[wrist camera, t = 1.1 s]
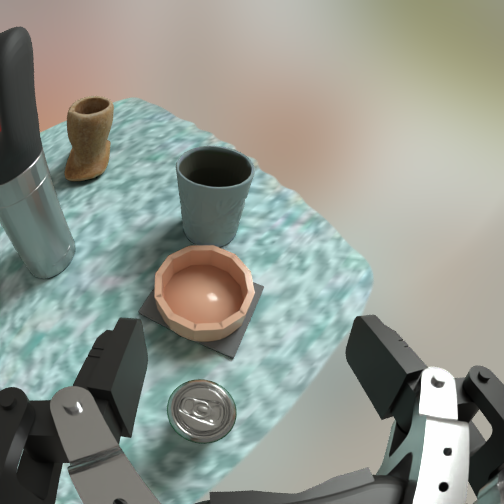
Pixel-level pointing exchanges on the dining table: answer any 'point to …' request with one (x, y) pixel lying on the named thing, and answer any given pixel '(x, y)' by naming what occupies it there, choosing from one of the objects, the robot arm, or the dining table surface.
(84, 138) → the tan boot
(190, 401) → the soda can
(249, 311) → the mat
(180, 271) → the bowl
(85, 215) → the dining table surface
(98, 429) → the robot arm
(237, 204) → the grey-green tumbler
